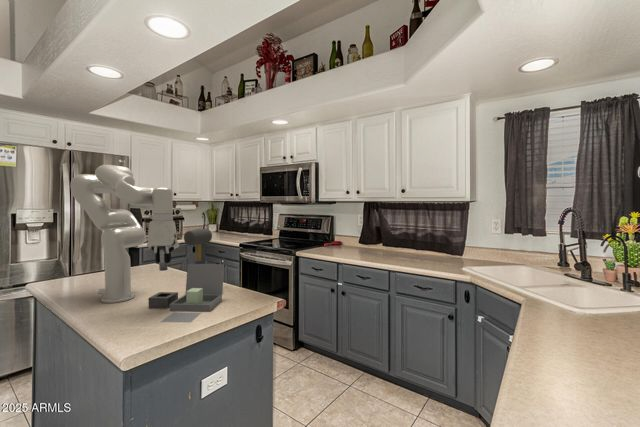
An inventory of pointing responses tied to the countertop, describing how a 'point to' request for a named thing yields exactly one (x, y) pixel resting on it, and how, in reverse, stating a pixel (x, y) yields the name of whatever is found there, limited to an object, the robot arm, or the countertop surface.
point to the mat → (181, 317)
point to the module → (194, 296)
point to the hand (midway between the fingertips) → (163, 262)
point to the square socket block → (162, 299)
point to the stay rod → (162, 259)
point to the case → (207, 305)
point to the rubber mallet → (197, 240)
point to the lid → (206, 278)
